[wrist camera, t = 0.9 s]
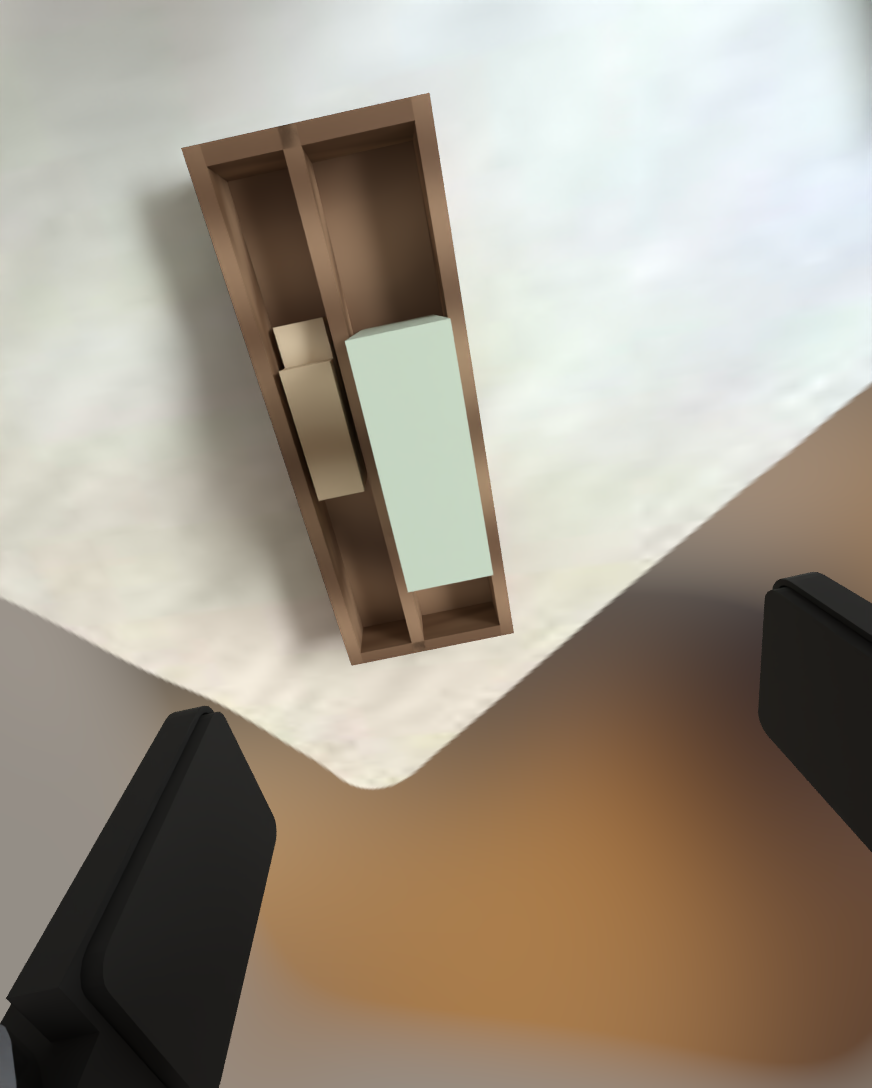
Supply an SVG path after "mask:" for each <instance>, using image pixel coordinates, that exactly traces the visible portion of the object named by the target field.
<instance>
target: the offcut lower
mask: <svg viewBox="0 0 872 1088" xmlns="http://www.w3.org/2000/svg"><path fill="white" fill-rule="evenodd" d="M273 330H274V334H275V337H276V340H277V343H278V347H279V350H280V353H281V357H282V360H283V363H284V366H285V368H288V367H293V366H298V365H302V364H307V363H312V362H317V361H321V360H326V359H331V358H333V359H334V363H335V367H336V371H337V375H338V378H339V382H340V386H341V390H342V394H343V397H344V401H345V405H346V409H347V412H348V416H349V420H350V424H351V428H352V431H353V435H354V439H355V443H356V447H357V450H358V454H359V458H360V462H361V465H362V469H363V473H364V477H365V481H366V480H367V471H366V467H365V463H364V459H363V455H362V452H361V448H360V444H359V440H358V436H357V432H356V429H355V425H354V421H353V417H352V413H351V409H350V406H349V402H348V398H347V394H346V390H345V386H344V383H343V379H342V375H341V371H340V367H339V364H338V360H337V356H336V352H335V348H334V344H333V341H332V337H331V333H330V329H329V325H328V321H327V318H326V317H321V318H317V319H312V320H307V321H303V322H298V323H293V324H289V325H284V326H280V327H275V328H273Z"/></svg>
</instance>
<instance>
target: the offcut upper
mask: <svg viewBox="0 0 872 1088" xmlns="http://www.w3.org/2000/svg"><path fill="white" fill-rule="evenodd" d="M279 374H280V377H281V381H282V384H283V387H284V390H285V394H286V397H287V400H288V403H289V406H290V410H291V413H292V416H293V419H294V423H295V426H296V429H297V432H298V435H299V439H300V442H301V445H302V448H303V452H304V455H305V458H306V461H307V465H308V468H309V471H310V474H311V477H312V481H313V484H314V487H315V490H316V494H317V497H318V500H319V501H320V500H325V499H330V498H335V497H340V496H344V495H349V494H354V493H359V492H364V491H365V485H366V481H365V477H364V473H363V469H362V465H361V462H360V458H359V454H358V450H357V447H356V443H355V439H354V435H353V431H352V428H351V424H350V420H349V416H348V412H347V409H346V405H345V401H344V397H343V394H342V390H341V386H340V382H339V378H338V375H337V371H336V367H335V363H334V359H333V358H331V359H326V360H321V361H317V362H312V363H307V364H302V365H298V366H293V367H288V368H285V369H283V370H281V371H279Z"/></svg>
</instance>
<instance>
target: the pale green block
mask: <svg viewBox="0 0 872 1088" xmlns="http://www.w3.org/2000/svg"><path fill="white" fill-rule="evenodd" d="M345 344H346V348H347V352H348V356H349V360H350V364H351V368H352V372H353V376H354V380H355V384H356V388H357V392H358V396H359V400H360V404H361V408H362V412H363V415H364V419H365V423H366V427H367V431H368V435H369V439H370V443H371V447H372V451H373V455H374V459H375V463H376V467H377V471H378V475H379V479H380V483H381V487H382V491H383V495H384V499H385V503H386V507H387V511H388V515H389V519H390V523H391V527H392V531H393V535H394V539H395V543H396V547H397V551H398V555H399V559H400V562H401V566H402V570H403V574H404V578H405V582H406V586H407V590H408V592H412V591H417V590H422V589H427V588H432V587H437V586H442V585H447V584H452V583H457V582H462V581H466V580H471V579H476V578H481V577H486V576H491V575H493V570H492V564H491V558H490V552H489V546H488V540H487V534H486V528H485V522H484V516H483V510H482V504H481V498H480V492H479V486H478V480H477V474H476V468H475V462H474V456H473V450H472V444H471V438H470V432H469V426H468V420H467V414H466V408H465V402H464V396H463V390H462V384H461V378H460V372H459V366H458V360H457V355H456V349H455V343H454V337H453V331H452V325H451V319H450V318H446V317H442V316H438V315H434V314H433V315H429V316H424V317H419V318H415V319H410V320H405V321H400V322H396V323H391V324H386V325H382V326H377V327H372V328H368V329H363V330H361V331H359V332H358V333H356V334H355V335H353V336H352V337H350V338H349V339H347V340H346V341H345Z"/></svg>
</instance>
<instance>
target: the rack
mask: <svg viewBox="0 0 872 1088" xmlns="http://www.w3.org/2000/svg"><path fill="white" fill-rule="evenodd" d="M181 149H182V152H183V155H184V158H185V161H186V164H187V167H188V170H189V173H190V176H191V179H192V182H193V185H194V188H195V191H196V194H197V197H198V200H199V203H200V207H201V210H202V213H203V216H204V219H205V222H206V225H207V228H208V231H209V234H210V237H211V240H212V243H213V246H214V249H215V252H216V255H217V258H218V261H219V264H220V267H221V270H222V273H223V276H224V279H225V282H226V286H227V289H228V292H229V295H230V298H231V301H232V304H233V307H234V310H235V313H236V316H237V319H238V322H239V325H240V328H241V331H242V334H243V337H244V340H245V343H246V346H247V349H248V352H249V355H250V358H251V361H252V365H253V368H254V371H255V374H256V377H257V380H258V383H259V386H260V389H261V392H262V395H263V398H264V401H265V404H266V407H267V410H268V413H269V416H270V419H271V422H272V425H273V428H274V431H275V434H276V437H277V440H278V444H279V447H280V450H281V453H282V456H283V459H284V462H285V465H286V468H287V471H288V474H289V477H290V480H291V483H292V486H293V489H294V492H295V495H296V498H297V501H298V504H299V507H300V510H301V513H302V516H303V519H304V523H305V526H306V529H307V532H308V535H309V538H310V541H311V544H312V547H313V550H314V553H315V556H316V559H317V562H318V565H319V568H320V571H321V574H322V577H323V580H324V583H325V586H326V589H327V592H328V595H329V598H330V602H331V605H332V608H333V611H334V614H335V617H336V620H337V623H338V626H339V629H340V632H341V635H342V638H343V641H344V644H345V647H346V650H347V653H348V656H349V659H350V662H351V665H357V664H362V663H367V662H372V661H377V660H382V659H387V658H392V657H397V656H402V655H407V654H411V653H416V652H421V651H426V650H431V649H436V648H441V647H446V646H451V645H456V644H461V643H466V642H471V641H476V640H481V639H486V638H491V637H496V636H501V635H506V634H511V633H514V631H513V625H512V618H511V612H510V606H509V599H508V593H507V586H506V580H505V574H504V567H503V561H502V554H501V548H500V542H499V535H498V529H497V522H496V516H495V510H494V503H493V497H492V490H491V484H490V478H489V471H488V465H487V458H486V452H485V446H484V439H483V433H482V426H481V420H480V414H479V407H478V401H477V394H476V388H475V382H474V375H473V369H472V362H471V356H470V350H469V343H468V337H467V330H466V324H465V318H464V311H463V305H462V298H461V292H460V286H459V279H458V273H457V266H456V260H455V254H454V247H453V241H452V234H451V228H450V222H449V215H448V209H447V202H446V196H445V190H444V183H443V177H442V170H441V164H440V158H439V151H438V145H437V138H436V132H435V126H434V119H433V113H432V106H431V100H430V94H429V93H426V94H422V95H417V96H413V97H409V98H404V99H400V100H395V101H391V102H386V103H382V104H377V105H373V106H368V107H364V108H359V109H355V110H350V111H346V112H341V113H337V114H332V115H328V116H323V117H319V118H314V119H310V120H305V121H301V122H296V123H292V124H287V125H283V126H278V127H274V128H270V129H265V130H261V131H256V132H252V133H247V134H243V135H238V136H234V137H229V138H225V139H220V140H216V141H211V142H207V143H202V144H198V145H193V146H189V147H184V148H181ZM433 314H434V315H438V316H442V317H446V318H450V319H451V325H452V331H453V337H454V343H455V349H456V355H457V360H458V366H459V372H460V378H461V384H462V390H463V396H464V402H465V408H466V414H467V420H468V426H469V432H470V438H471V444H472V450H473V456H474V462H475V468H476V474H477V480H478V486H479V492H480V498H481V504H482V510H483V516H484V522H485V528H486V534H487V540H488V546H489V552H490V558H491V564H492V570H493V575H491V576H486V577H481V578H476V579H471V580H466V581H462V582H457V583H452V584H447V585H442V586H437V587H432V588H427V589H422V590H417V591H412V592H408V590H407V586H406V582H405V578H404V574H403V570H402V566H401V562H400V559H399V555H398V551H397V547H396V543H395V539H394V535H393V531H392V527H391V523H390V519H389V515H388V511H387V507H386V503H385V499H384V495H383V491H382V487H381V483H380V479H379V475H378V471H377V467H376V463H375V459H374V455H373V451H372V447H371V443H370V439H369V435H368V431H367V427H366V423H365V419H364V415H363V412H362V408H361V404H360V400H359V396H358V392H357V388H356V384H355V380H354V376H353V372H352V368H351V364H350V360H349V356H348V352H347V348H346V344H345V341H346V340H347V339H349V338H350V337H352V336H353V335H355V334H356V333H358V332H359V331H361V330H363V329H368V328H372V327H377V326H382V325H386V324H391V323H396V322H400V321H405V320H410V319H415V318H419V317H424V316H429V315H433ZM321 317H326V318H327V321H328V325H329V329H330V333H331V337H332V341H333V344H334V348H335V352H336V356H337V360H338V364H339V367H340V371H341V375H342V379H343V383H344V386H345V390H346V394H347V398H348V402H349V406H350V409H351V413H352V417H353V421H354V425H355V429H356V432H357V436H358V440H359V444H360V448H361V452H362V455H363V459H364V463H365V467H366V471H367V480H366V485H365V491H364V492H359V493H354V494H349V495H344V496H340V497H335V498H330V499H325V500H320V501H319V500H318V497H317V494H316V490H315V487H314V484H313V481H312V477H311V474H310V471H309V468H308V465H307V461H306V458H305V455H304V452H303V448H302V445H301V442H300V439H299V435H298V432H297V429H296V426H295V423H294V419H293V416H292V413H291V410H290V406H289V403H288V400H287V397H286V394H285V390H284V387H283V384H282V381H281V377H280V374H279V371H281V370H283V369H285V366H284V363H283V360H282V357H281V353H280V350H279V347H278V343H277V340H276V337H275V334H274V330H273V328H275V327H280V326H284V325H289V324H293V323H298V322H303V321H307V320H312V319H317V318H321Z"/></svg>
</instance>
